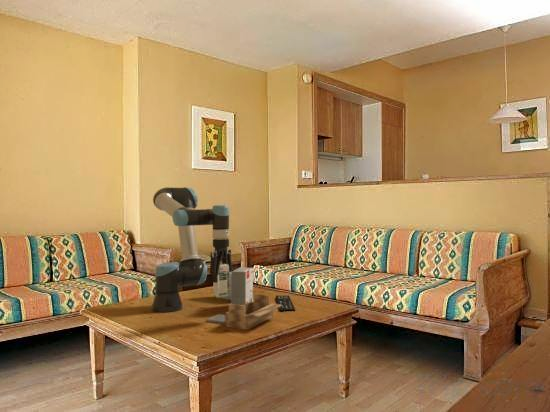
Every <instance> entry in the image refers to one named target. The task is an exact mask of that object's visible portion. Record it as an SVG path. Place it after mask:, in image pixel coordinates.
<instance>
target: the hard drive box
mask: <svg viewBox="0 0 550 412" xmlns="http://www.w3.org/2000/svg"><path fill="white" fill-rule="evenodd" d="M231 272H232V276H231V300H230V304H235V305H245V304H247V303H250V302H254V268H253V267H241V266H240V267H238V268H236V269H234V270H233V271H232V270H231Z"/></svg>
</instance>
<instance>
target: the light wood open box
mask: <svg viewBox="0 0 550 412" xmlns="http://www.w3.org/2000/svg"><path fill="white" fill-rule="evenodd" d="M280 306H282V305H281V304H277V303H270V295H269V294H262V293H253V302H250V303H247V304H245V305H235V304H231V303H229V304H228V311H227V312H225V314H224V315H225V324H224V325H225V328H226V327H228V328H234V329H241V330H247V331H248V330H251V329H252V328H254V327H256V326H258V325H260V324H262V323H263V322H265V321H266V322H267V320H269V319H272V317H274V311H275V310H276V309H279V307H280Z"/></svg>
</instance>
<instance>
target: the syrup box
mask: <svg viewBox="0 0 550 412" xmlns="http://www.w3.org/2000/svg"><path fill="white" fill-rule="evenodd" d="M229 268H230V267H229V265H228V264H222V263H220V267H219V272H218V275H219V290H215V289H213V295H215V296H216V297H224V296H229Z"/></svg>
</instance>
